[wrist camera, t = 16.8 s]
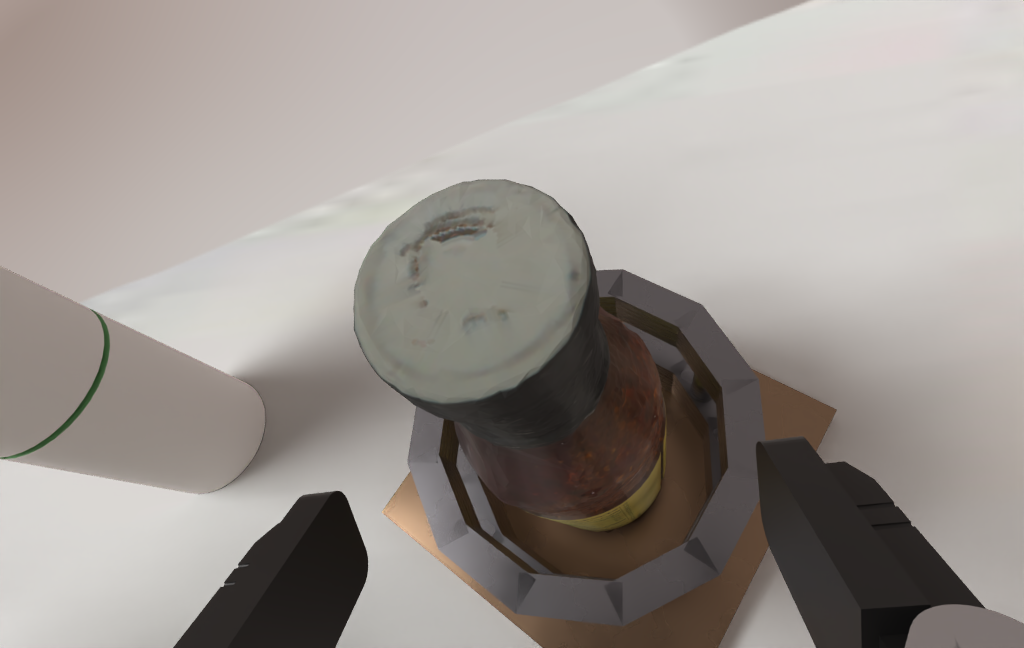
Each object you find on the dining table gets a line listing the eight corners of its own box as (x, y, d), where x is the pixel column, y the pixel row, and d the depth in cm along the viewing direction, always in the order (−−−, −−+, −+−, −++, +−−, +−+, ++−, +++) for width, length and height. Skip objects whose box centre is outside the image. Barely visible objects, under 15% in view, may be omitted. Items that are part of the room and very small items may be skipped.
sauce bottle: (563, 387, 28) (407, 76, 11) (683, 429, 26) (733, 120, 8) (513, 507, 26) (221, 370, 9) (637, 565, 24) (578, 536, 6)
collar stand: (665, 744, 22) (672, 840, 14) (390, 514, 28) (288, 490, 20) (830, 415, 25) (910, 343, 18) (552, 280, 32) (519, 183, 24)
